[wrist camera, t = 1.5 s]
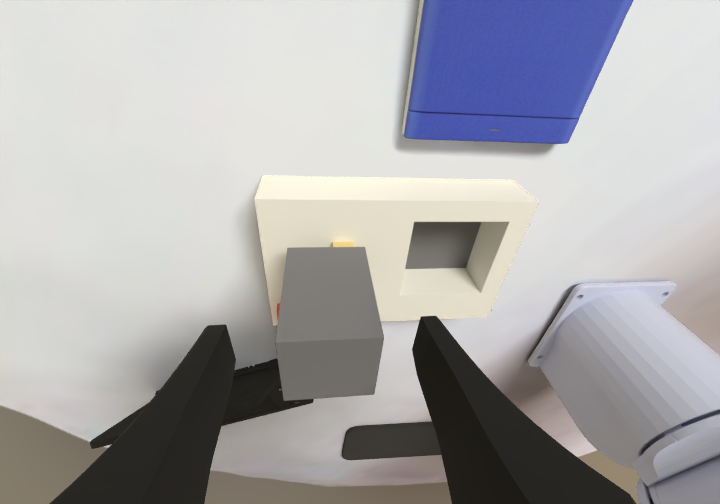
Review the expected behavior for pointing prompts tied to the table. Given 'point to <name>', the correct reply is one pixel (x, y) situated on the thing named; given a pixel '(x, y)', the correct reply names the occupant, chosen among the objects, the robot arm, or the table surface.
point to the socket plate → (401, 236)
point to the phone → (390, 441)
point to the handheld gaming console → (233, 400)
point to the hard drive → (506, 67)
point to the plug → (328, 324)
